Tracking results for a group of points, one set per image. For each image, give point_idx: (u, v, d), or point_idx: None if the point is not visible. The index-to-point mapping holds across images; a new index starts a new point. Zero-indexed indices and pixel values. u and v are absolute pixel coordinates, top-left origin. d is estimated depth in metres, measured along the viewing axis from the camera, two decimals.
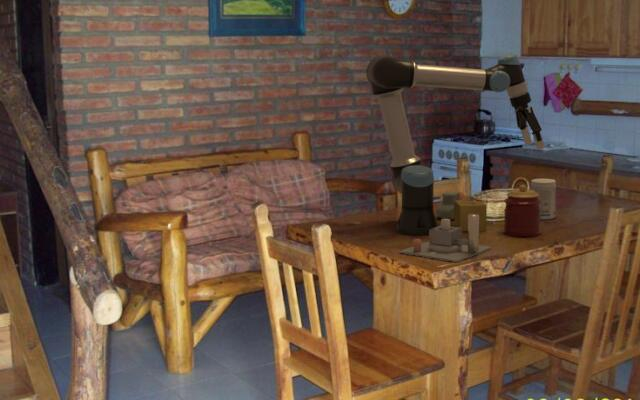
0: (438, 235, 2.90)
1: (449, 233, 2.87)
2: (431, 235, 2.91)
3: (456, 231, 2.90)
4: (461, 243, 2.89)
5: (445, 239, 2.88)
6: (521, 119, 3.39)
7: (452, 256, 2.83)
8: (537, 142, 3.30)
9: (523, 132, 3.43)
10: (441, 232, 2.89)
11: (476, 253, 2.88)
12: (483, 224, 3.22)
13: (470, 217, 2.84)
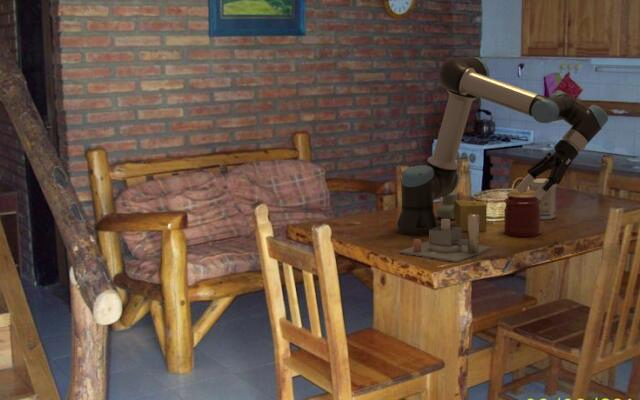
0: (438, 235, 2.90)
1: (449, 233, 2.87)
2: (431, 235, 2.91)
3: (456, 231, 2.90)
4: (461, 243, 2.89)
5: (445, 239, 2.88)
6: (543, 165, 2.94)
7: (452, 256, 2.83)
8: (541, 189, 2.84)
9: (528, 177, 2.97)
10: (441, 232, 2.89)
11: (476, 253, 2.88)
12: (483, 224, 3.22)
13: (470, 217, 2.84)
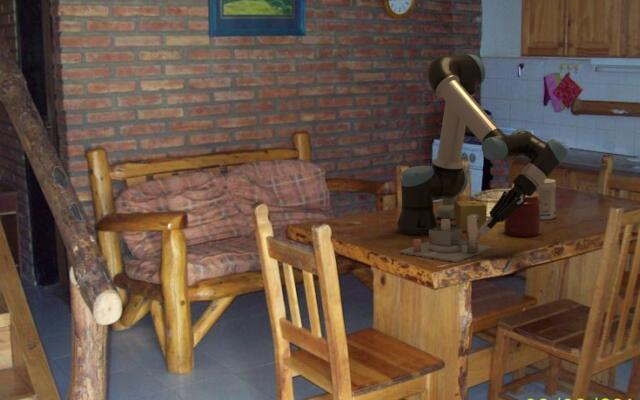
0: (438, 235, 2.90)
1: (448, 233, 2.87)
2: (431, 235, 2.91)
3: (456, 231, 2.90)
4: (461, 243, 2.88)
5: (445, 239, 2.88)
6: (504, 203, 2.88)
7: (452, 256, 2.83)
8: (485, 226, 2.87)
9: None
10: (441, 232, 2.89)
11: (476, 253, 2.88)
12: None
13: (469, 217, 2.84)
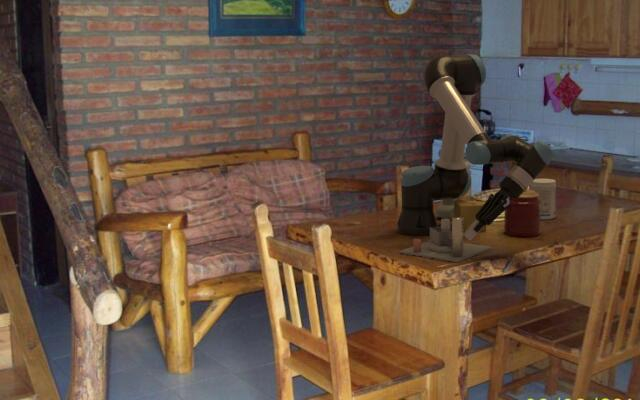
0: (433, 233, 2.92)
1: (438, 233, 2.88)
2: (430, 233, 2.95)
3: (450, 232, 2.89)
4: (450, 245, 2.87)
5: (436, 238, 2.90)
6: (490, 205, 2.84)
7: (452, 256, 2.83)
8: (471, 229, 2.82)
9: None
10: (434, 231, 2.91)
11: (476, 253, 2.88)
12: None
13: (452, 219, 2.82)
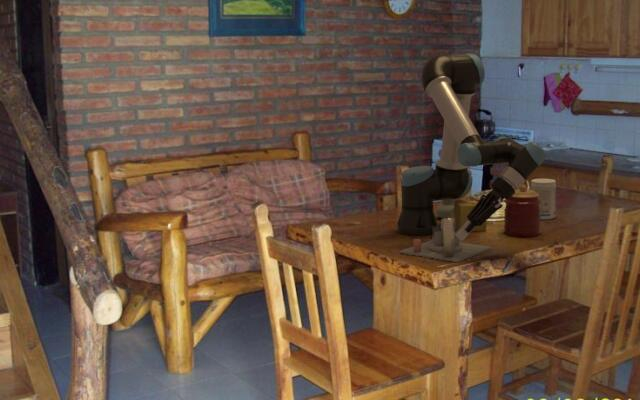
0: (433, 233, 2.93)
1: (434, 232, 2.89)
2: (432, 232, 2.96)
3: None
4: None
5: None
6: (482, 206, 2.83)
7: (452, 256, 2.83)
8: (463, 230, 2.82)
9: None
10: (433, 230, 2.92)
11: (476, 253, 2.88)
12: (483, 224, 3.22)
13: (443, 219, 2.82)
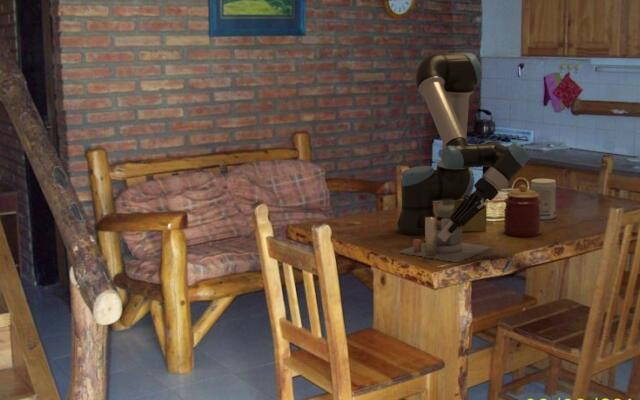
0: None
1: None
2: None
3: (439, 232, 2.89)
4: None
5: None
6: (465, 207, 2.84)
7: (452, 256, 2.83)
8: (446, 231, 2.82)
9: None
10: None
11: (476, 253, 2.88)
12: (483, 224, 3.22)
13: None
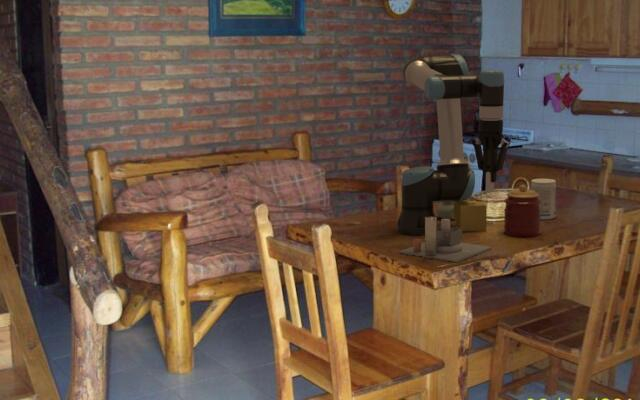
0: None
1: None
2: None
3: (439, 232, 2.89)
4: None
5: None
6: (487, 152, 2.83)
7: (452, 256, 2.83)
8: (490, 183, 2.84)
9: None
10: None
11: (476, 253, 2.88)
12: (483, 224, 3.22)
13: None
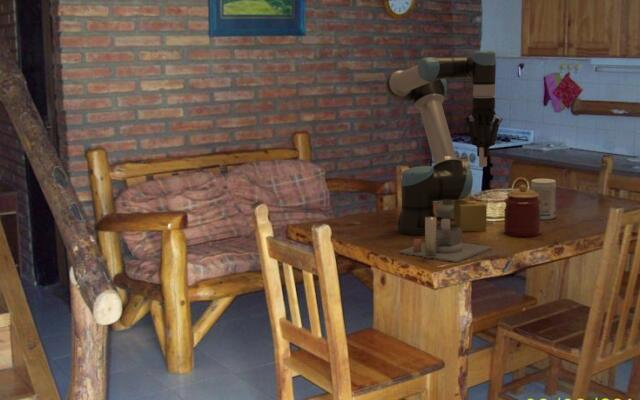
0: None
1: None
2: None
3: (439, 232, 2.89)
4: None
5: None
6: (480, 129, 2.99)
7: (452, 256, 2.83)
8: (483, 158, 3.00)
9: None
10: None
11: (476, 253, 2.88)
12: (483, 224, 3.22)
13: None
